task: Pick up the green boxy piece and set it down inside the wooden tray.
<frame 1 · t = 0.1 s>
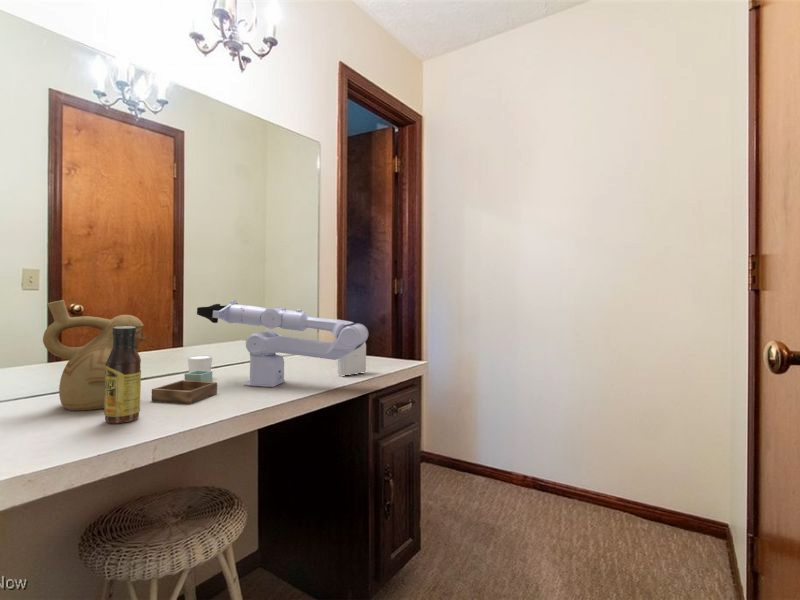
hand: (206, 310, 122), 22 cm above the vanity, tool horizontal, fingers open, 7 cm apart
green boxy piece: (198, 388, 112), on the vanity
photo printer: (351, 375, 135), on the vanity
sauce bottle: (122, 421, 84), on the vanity
white piece: (199, 380, 123), on the vanity
wooden tray: (185, 397, 102), on the vanity
ceramic vessel: (97, 404, 95), on the vanity
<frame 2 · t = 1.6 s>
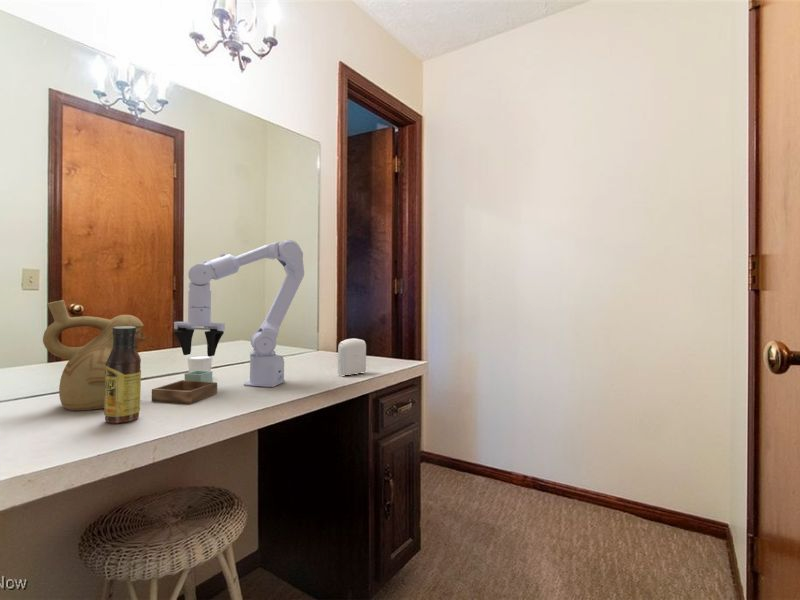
hand: (198, 355, 112), 9 cm above the vanity, tool pointing down, fingers open, 7 cm apart
nothing on the vanity moved.
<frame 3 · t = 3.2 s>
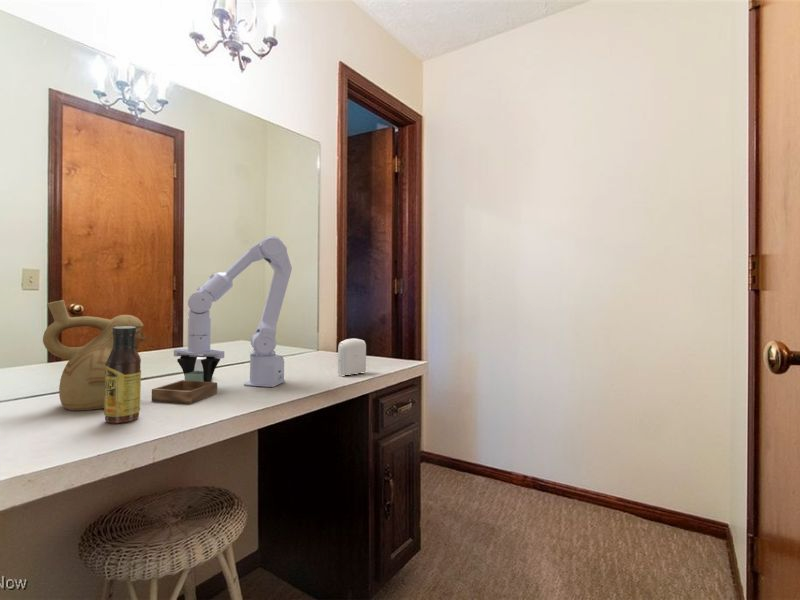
hand: (198, 382, 112), 2 cm above the vanity, tool pointing down, fingers closed on green boxy piece, 5 cm apart
green boxy piece: (198, 388, 112), on the vanity, touching gripper
everything else where it was.
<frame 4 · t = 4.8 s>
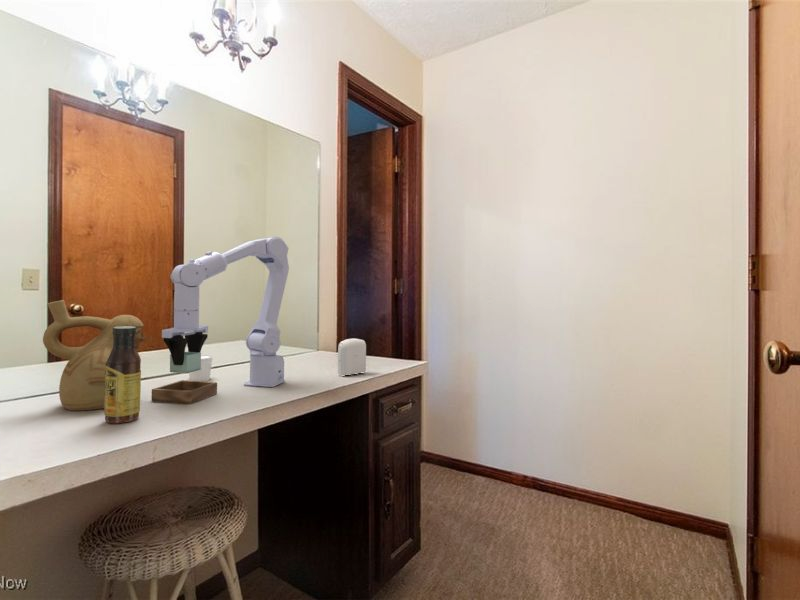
hand: (186, 363, 102), 9 cm above the vanity, tool pointing down, fingers closed on green boxy piece, 5 cm apart
green boxy piece: (185, 370, 102), point 7 cm above the vanity, touching gripper
everything else where it was.
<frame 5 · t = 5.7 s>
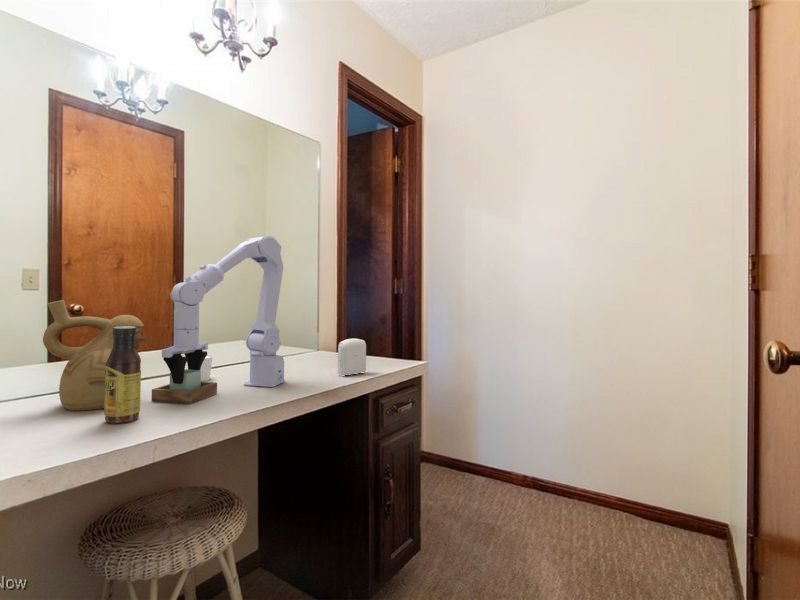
hand: (185, 381, 102), 4 cm above the vanity, tool pointing down, fingers closed on green boxy piece, 5 cm apart
green boxy piece: (185, 388, 102), point 2 cm above the vanity, touching gripper
everything else where it was.
when the fingers open (4 cm above the vanity, at t = 6.5 s): green boxy piece drops 2 cm, resting on wooden tray.
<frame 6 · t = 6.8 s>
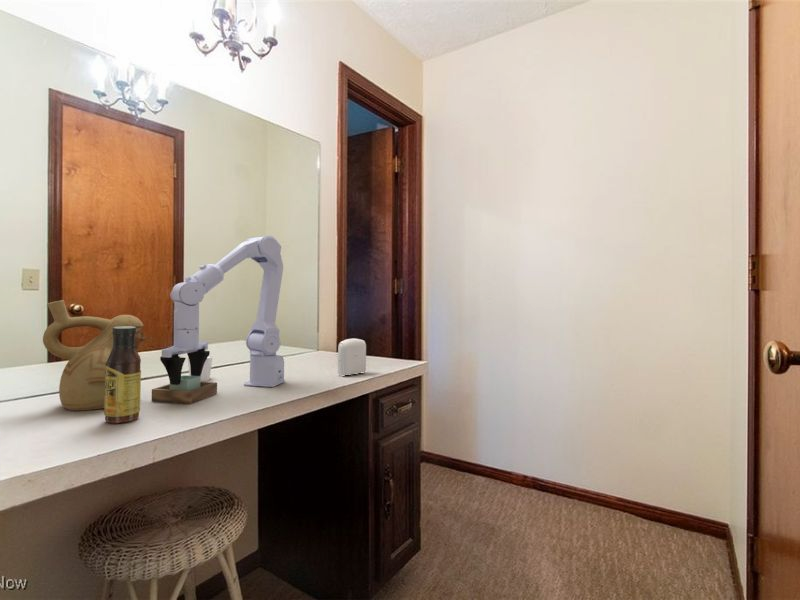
hand: (185, 381, 102), 4 cm above the vanity, tool pointing down, fingers open, 7 cm apart
green boxy piece: (185, 394, 102), point 1 cm above the vanity, touching wooden tray
everything else where it was.
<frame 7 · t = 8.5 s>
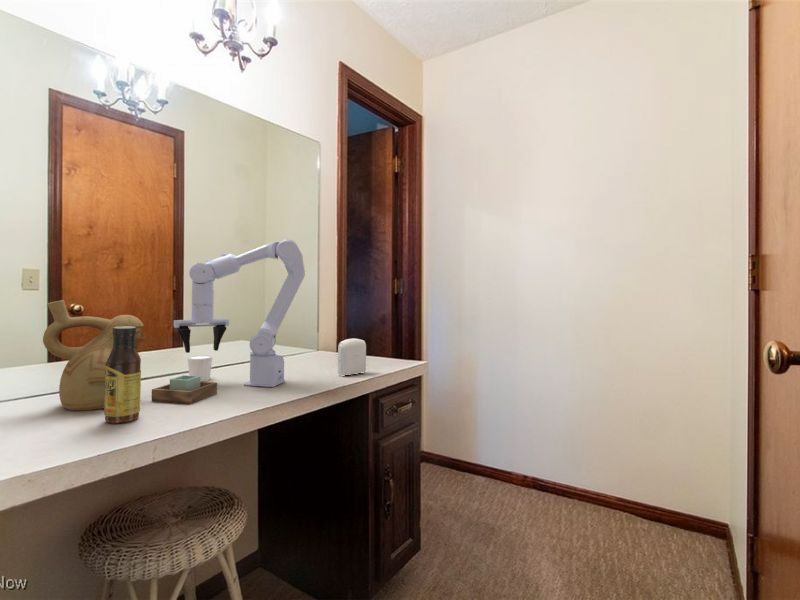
hand: (202, 351, 116), 10 cm above the vanity, tool pointing down, fingers open, 7 cm apart
nothing on the vanity moved.
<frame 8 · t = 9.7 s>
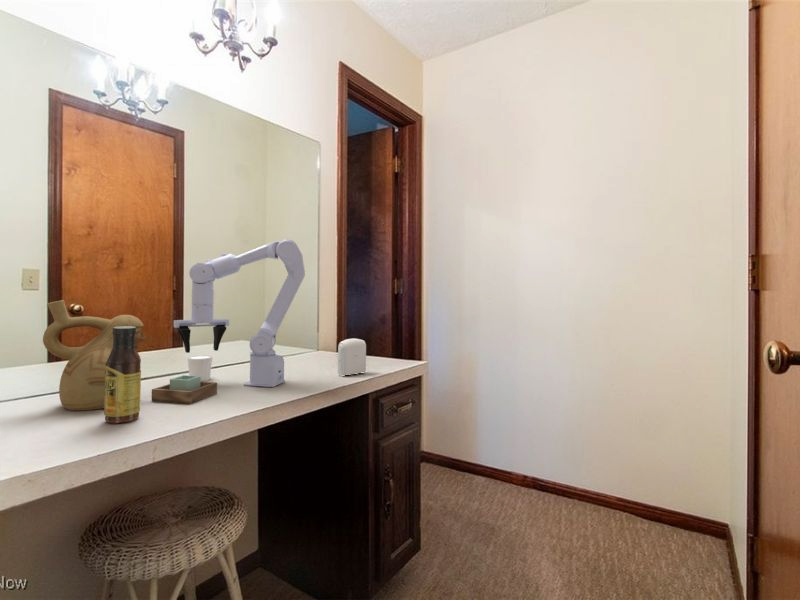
hand: (202, 351, 116), 10 cm above the vanity, tool pointing down, fingers open, 7 cm apart
nothing on the vanity moved.
at the end: green boxy piece 0.1 cm off-centre on the wooden tray, point 0.6 cm above the wooden tray's base; green boxy piece tilted 0°; the gripper is holding nothing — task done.
